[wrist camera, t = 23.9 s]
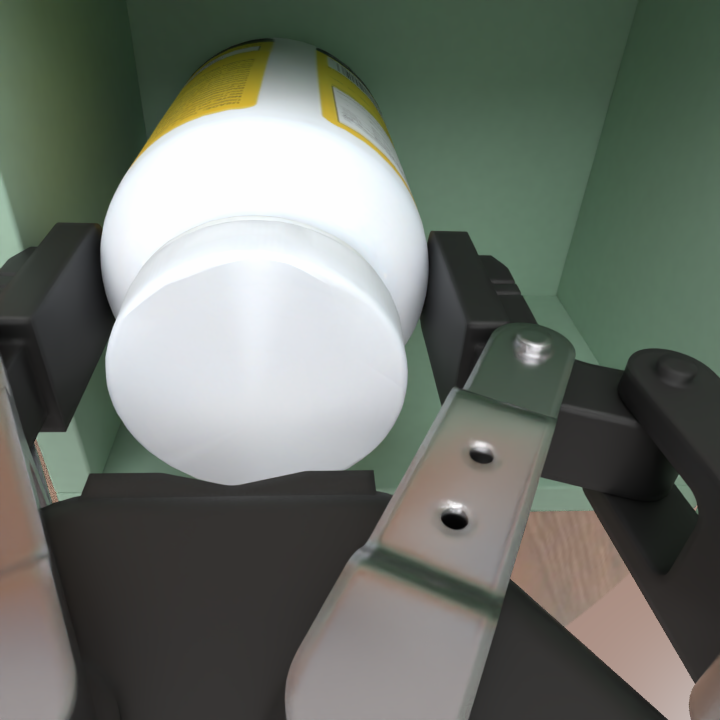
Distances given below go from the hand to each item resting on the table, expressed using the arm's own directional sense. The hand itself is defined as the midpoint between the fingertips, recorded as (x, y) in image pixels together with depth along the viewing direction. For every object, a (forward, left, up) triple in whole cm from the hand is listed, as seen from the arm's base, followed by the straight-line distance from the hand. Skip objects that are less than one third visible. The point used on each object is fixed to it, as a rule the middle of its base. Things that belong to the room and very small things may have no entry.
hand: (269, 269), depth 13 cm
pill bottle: (0, 0, -8) cm, 8 cm away
